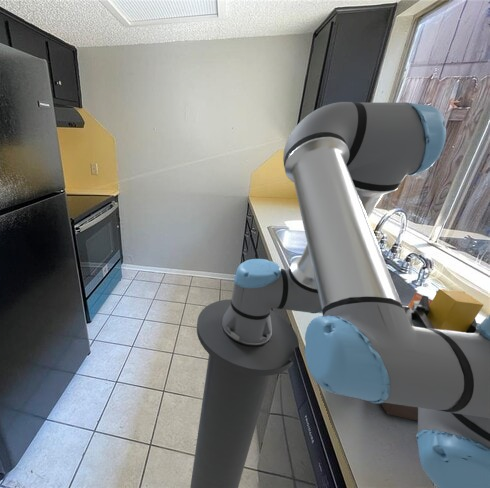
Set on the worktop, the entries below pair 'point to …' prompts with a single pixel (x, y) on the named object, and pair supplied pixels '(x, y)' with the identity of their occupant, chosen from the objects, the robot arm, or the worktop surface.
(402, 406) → the green brown square block
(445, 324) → the yellow bar
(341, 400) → the worktop surface
